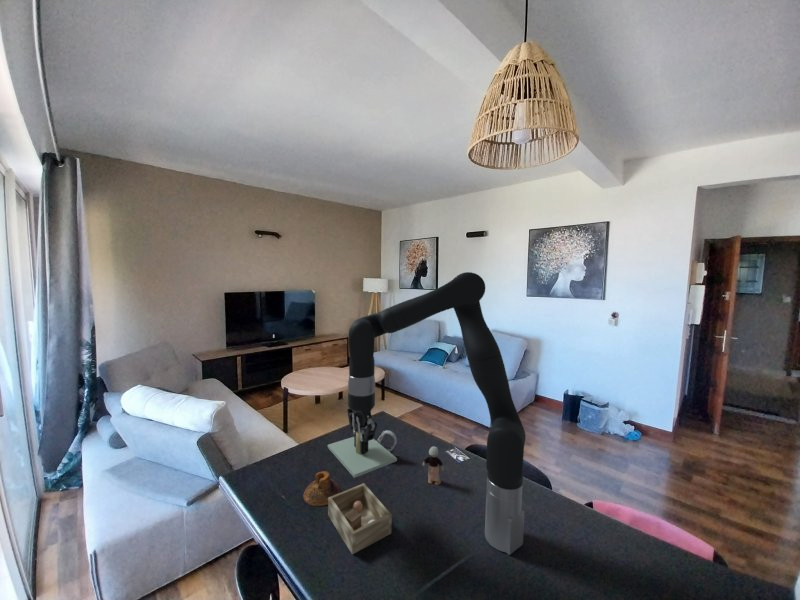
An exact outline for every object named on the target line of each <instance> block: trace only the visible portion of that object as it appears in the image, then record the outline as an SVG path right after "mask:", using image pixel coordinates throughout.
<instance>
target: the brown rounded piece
mask: <svg viewBox="0 0 800 600" xmlns="http://www.w3.org/2000/svg"><path fill="white" fill-rule="evenodd" d="M314 478H315V479H314V480H313V481H311V482H310V483H309V484H308V485H307V487H306V488H305V490H304V492H303V495H302V498H303V500H304V503H306V504H307V505H309V506H311V507H323V506H326V505H327V506H328V498H329V497H331V496H334V495H336V494H338V493H341V492H342V490H341V487H340V484H338V482H336V481H335V480H334V479H332V478H331V477H330V473H329V472H328V471H326V470H325V471H319V472H317V473H316V474H315V476H314Z"/></svg>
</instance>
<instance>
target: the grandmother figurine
mask: <svg viewBox="0 0 800 600" xmlns="http://www.w3.org/2000/svg"><path fill="white" fill-rule="evenodd" d="M428 454H429V455H430V456H427V457H426V458H424V460H423V462H422V466H423V467H425V466H426V465H427V464H428V466H427V467H428V472H427V473H428V475H427V477H428V480H427V482H428V484H430V485H433V484H434V486H435V485H436V486H439V485H440V484H441V483H442V482H441V479H440V470H441V471H442V472H443V471H445V467H444V464H443V462H442V460H441V459H440V458H439V457H438V455H439V449H438V447H437V446H431V447H430V448H429V450H428Z"/></svg>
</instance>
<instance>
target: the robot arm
mask: <svg viewBox="0 0 800 600" xmlns="http://www.w3.org/2000/svg"><path fill="white" fill-rule="evenodd" d="M485 292H486V283H485V281H484V279H483V278H482V277H481V276H480V275H479V274H477V273H475V272H472V271H471V272H470V271H469V272H462V273H460V274H458V275H456V276H455V277H454V278H452V280H449V281H448V282H446V283H445V284H444V285H442V286H440V287H438V288H436V289H433V290H430V291H429V292H427V293H423V294H422V295H421V294H420V295H418V296H415V297H413V298H410V299H406V300H404V301H402V302H399V303H396V304H394V305H392V306H389V307H386V308H385V309H383V310H381V311H378V312H374V313H371V314H368V315H365V316H363V317H360V318H358V319H355V320H354V321H353V322H352V324H351V325H350V328H349V329H348V350H349V361H348V362H349V364H348V370H349V371H348V381H347V383H348V384H347V389H348V390H347V407H348V408H347V410H346V413H347V417H348V425H349V429H350V431H352V434H353V437H354V447H355V448H356V431H358V432H360V452H361V453H362V454H364V453H367V452H368V441H370V440H373V439H375V435H376V431H377V428H378V423H377V421H376V422H375V421H373V420H372V418H373V417H372V410H373V409H374V408H375V405H376V377H375V355H374V354H375V353H374V351H375V339H376V338H377V337H378V338H379V337H380V336H383V335H385V334H393V333H397V332H398V331H401V330H404V329H406V328H409V327H411V326H413V325H415V324H418V323H421V322H422V321H425V320H426V319H428V318H430V317H433V316H434V315H437V314H439V313H442V312H445V311H447V310H450V309H451V310H452V309H453V310H454V313H455V315H456V318H457V320H458V321H457V322H458V324H459V326H460V330H461V336H462V340H463V346H464V350H465V355H466V357H467V361H468V364H469V369H470V372H471V375H472V378H473V380H474V383H475V384H476V386H477V388H478V389H479V391H480V392H481V394H482V395H483V397H484V399H485V402H486V405H487V410H488V412H489V419H490V424H491V425H490V427H491V428H490V429H489V432H488V435H487V439H486V464H485V465H486V474H487V475H486V494H485V495H486V497H485V498H486V499H485V515H484V516H485V518H484V519H485V520H484V523H485V524H484V538H485V540H486V541H487V543H488V544H489V545H490V546H491V547H492V548H494V549H495V550H497V551H499V552H503V553H506V554H507V555H508V556H510V555H512V554H513V553H514V552H515V551H516V550H518V549H520V547H522V546H523V544H524V531H525V529H524V527H525V511H524V510H523V509H522V504H523V503H522V501H523V500H522V499H523V485H524V484H523V483H524V482H523V481H524V480H523V479H524V473H523V472H524V471H523V470H524V456H525V455H524V454H525V453H524V451H525V444H526V431H525V428H524V425H523V423H522V421H521V418H520V416H519V414H518V411H517V409H516V406H515V403H514V401H513V397H512V394H511V389H510V388H511V387H510V383H509V378H508V375H507V371H506V368H505V362H504V359H503V356H502V353H501V350H500V348H499V344H498V343H497V340H496V338H495V336H494V335H493V332H492V331H491V329H490V328H489V327H488V325H487V323H486V321H485V318H484V314H483V310H482V306H481V302H480V301H481V300H482V299H483V297H484V295H485ZM364 432H365V435H363V433H364Z"/></svg>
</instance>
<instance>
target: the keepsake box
mask: <svg viewBox="0 0 800 600" xmlns="http://www.w3.org/2000/svg"><path fill="white" fill-rule="evenodd" d="M355 501H361V503H362V505H363V507H362V510H361V511H360V512H358V513H360V514H361V527H360V528H358V529H357V530H355V531H354V530H353V529H352V527H351V526H350V524H349V523H348V521H347V520H346V518H345V517H344V515H345V514H346V513H348V512H349V511H351V510H352V509H353V504H354V502H355ZM327 516H328V517H329V519H330V521H331V523H332V524H333V525H334V527H335V528H336V531H337V532H338V534H339V536H340V537H341V539H342V540H343V542H344V543H345V546H347V548H348V550H349V552H350V553H351V555H354V554H356V553H358V552H360V551H361V550H363V549H365V548H367V547H369V546H371V545H373V544H374V543H377V542H378V541H380V540H382V539H384V538H385V537H387V536H389V535H391V534H392V524H393V523H392V519H393V517H392V516H393V515H392V513H391V512H390V511H389V510H388V509H387V507H386V506H384V504H383V503H382V502H381V501H380V500H379V499H378V497H377V496H376V495H375V493H373V492H372V490H371V489H370V488H369V487H368V486H367V485H366V484H365V482H363V483H361V484H358V485H356V486H353V487H350V488H349V489H346V490H344V491H341V493H338V494H336V495H334V496H331V497H329V498H328V505H327ZM370 520H375V521H373V522H371V523H369V524H368V522H369V521H370Z"/></svg>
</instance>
